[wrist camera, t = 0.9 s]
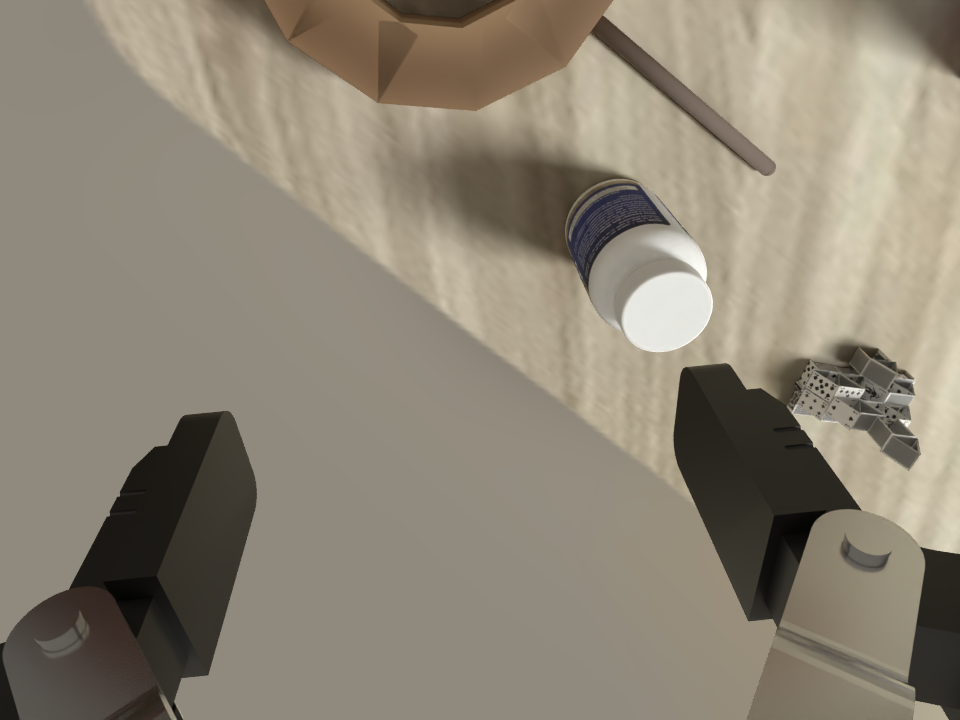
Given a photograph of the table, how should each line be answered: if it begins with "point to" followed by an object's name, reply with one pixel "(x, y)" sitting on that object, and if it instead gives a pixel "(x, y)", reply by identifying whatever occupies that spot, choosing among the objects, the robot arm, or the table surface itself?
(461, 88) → the walnut ring
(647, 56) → the brown tapered stick
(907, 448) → the house of cards
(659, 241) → the pill bottle
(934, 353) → the table surface
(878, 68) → the table surface
